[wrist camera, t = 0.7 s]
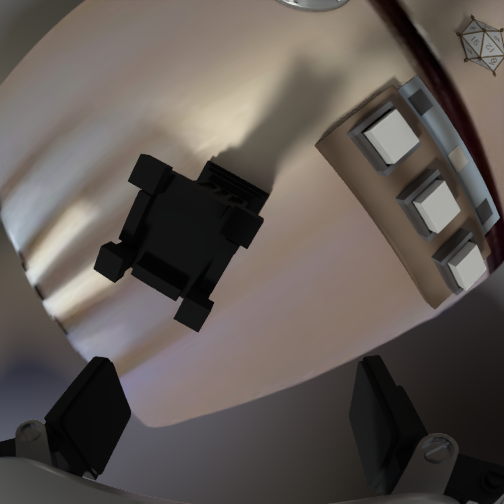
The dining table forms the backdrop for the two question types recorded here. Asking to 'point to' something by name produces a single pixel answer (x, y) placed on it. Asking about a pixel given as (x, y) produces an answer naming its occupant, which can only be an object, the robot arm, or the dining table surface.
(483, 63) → the game die
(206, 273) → the chess piece
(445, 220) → the button middle
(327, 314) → the dining table surface
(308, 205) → the dining table surface
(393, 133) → the button
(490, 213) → the board
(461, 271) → the button
